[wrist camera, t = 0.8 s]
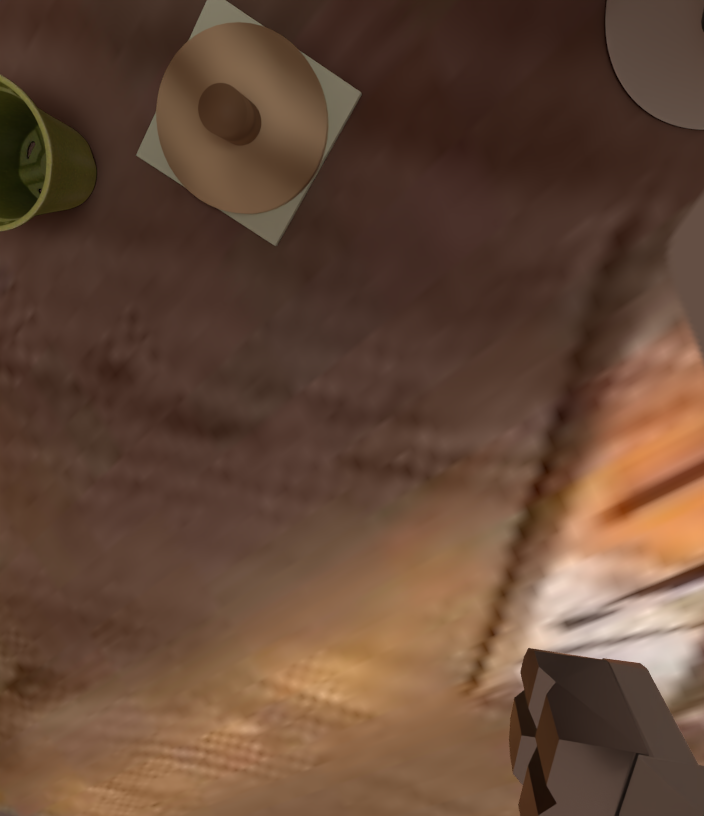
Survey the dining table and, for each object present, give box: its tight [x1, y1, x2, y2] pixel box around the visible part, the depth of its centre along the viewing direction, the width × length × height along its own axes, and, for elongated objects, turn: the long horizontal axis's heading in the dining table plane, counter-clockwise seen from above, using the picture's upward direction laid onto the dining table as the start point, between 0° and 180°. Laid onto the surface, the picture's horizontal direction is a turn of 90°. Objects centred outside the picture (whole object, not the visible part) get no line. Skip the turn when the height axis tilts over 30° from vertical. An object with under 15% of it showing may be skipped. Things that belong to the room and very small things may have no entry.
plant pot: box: [0, 75, 97, 231], centre depth 40 cm, size 9×9×9 cm
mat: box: [136, 0, 362, 246], centre depth 42 cm, size 12×12×1 cm
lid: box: [156, 22, 329, 214], centre depth 39 cm, size 12×12×5 cm
